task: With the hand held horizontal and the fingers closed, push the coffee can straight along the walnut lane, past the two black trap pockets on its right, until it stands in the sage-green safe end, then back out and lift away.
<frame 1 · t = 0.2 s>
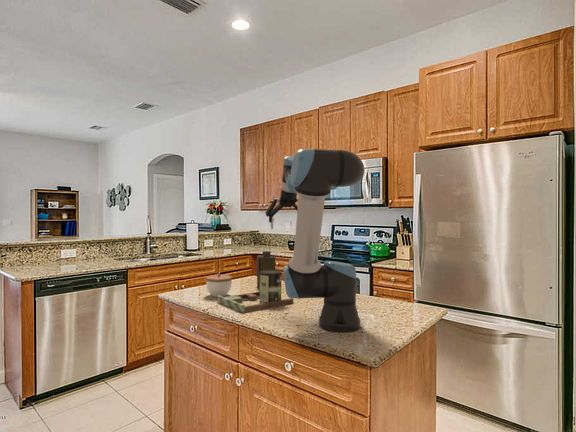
hand: (285, 227, 177), 34 cm above the counter, tool tilted 30°, fingers open, 13 cm apart
trap lane: (257, 302, 165), on the counter
lidded bowl: (218, 295, 180), on the counter
canister: (265, 288, 199), on the counter
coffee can: (270, 302, 167), on the counter
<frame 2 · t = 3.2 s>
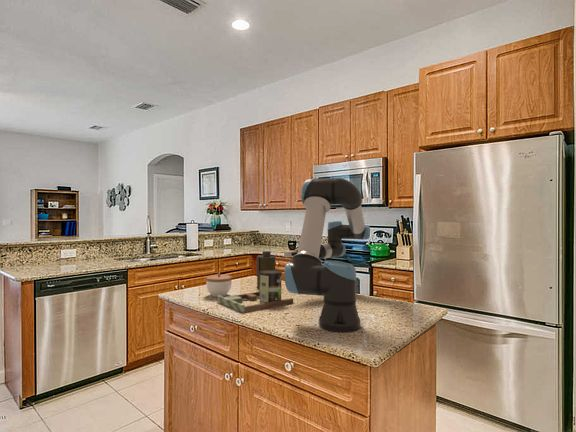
hand: (285, 254, 172), 21 cm above the counter, tool horizontal, fingers closed
nothing on the counter moved.
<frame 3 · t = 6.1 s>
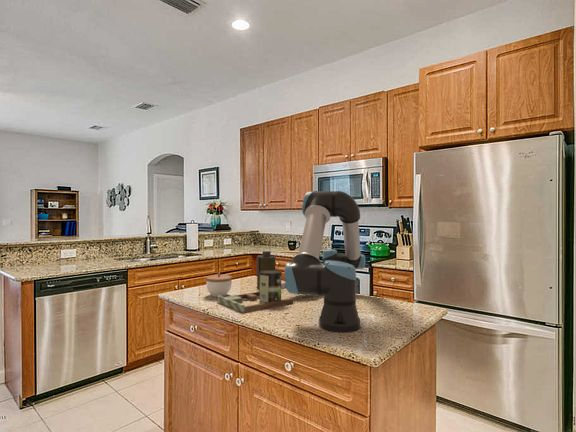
hand: (278, 286, 171), 6 cm above the counter, tool horizontal, fingers closed
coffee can: (270, 302, 167), on the counter, touching gripper
everything else where it was.
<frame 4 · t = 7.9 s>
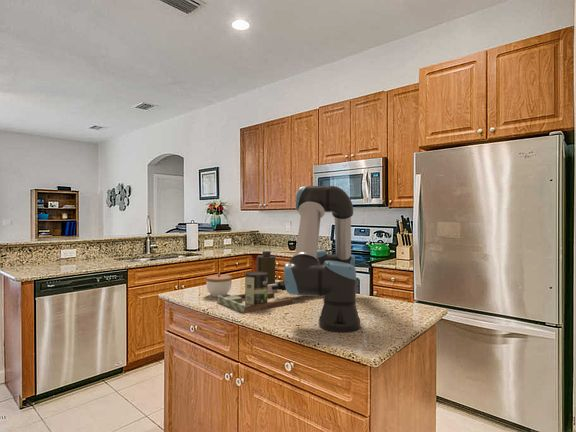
hand: (265, 288, 166), 6 cm above the counter, tool horizontal, fingers closed
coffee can: (256, 304, 163), on the counter, touching gripper
everything else where it was.
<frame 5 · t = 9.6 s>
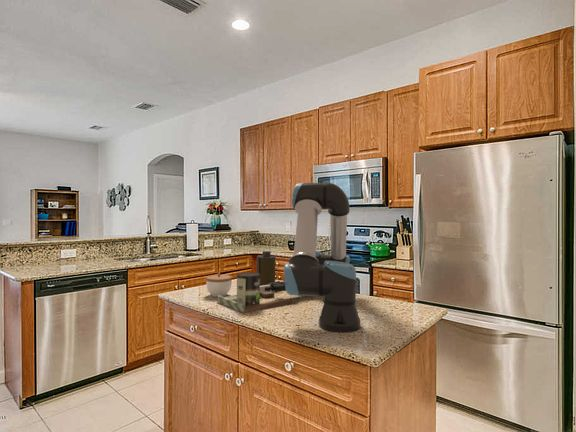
hand: (257, 289, 163), 7 cm above the counter, tool horizontal, fingers closed
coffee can: (248, 306, 160), on the counter, touching gripper
everything else where it was.
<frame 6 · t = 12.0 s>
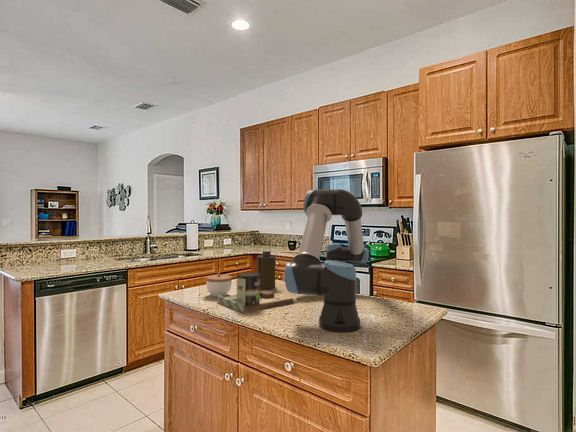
hand: (283, 278, 172), 10 cm above the counter, tool horizontal, fingers closed
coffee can: (248, 306, 160), on the counter
everything else where it was.
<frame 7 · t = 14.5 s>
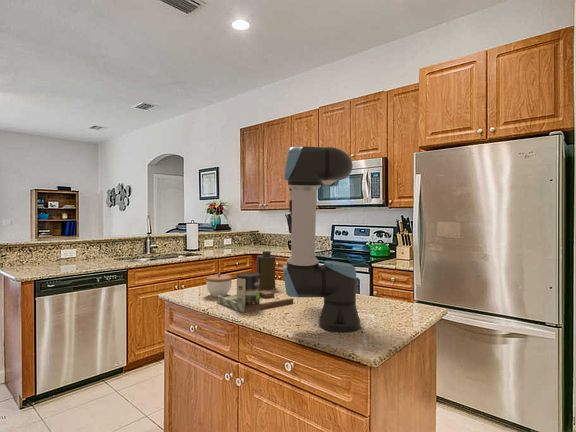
hand: (296, 248, 176), 24 cm above the counter, tool pointing down, fingers closed
nothing on the counter moved.
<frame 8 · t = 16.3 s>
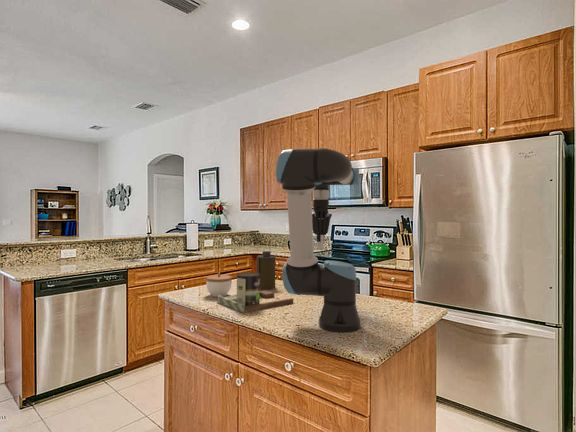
hand: (320, 248, 173), 24 cm above the counter, tool pointing down, fingers closed
nothing on the counter moved.
at the end: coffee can inside the target area (0.4 cm from its centre), on the counter; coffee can tilted 0°; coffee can touching counter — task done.
